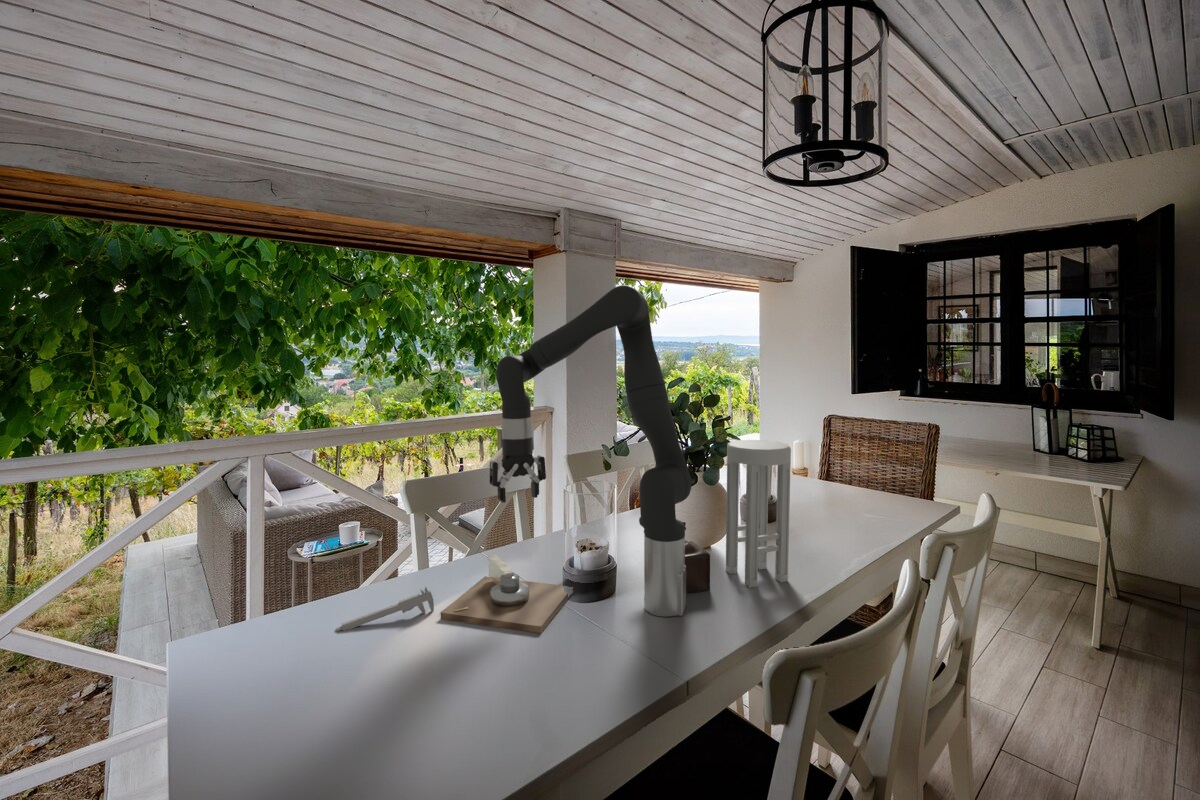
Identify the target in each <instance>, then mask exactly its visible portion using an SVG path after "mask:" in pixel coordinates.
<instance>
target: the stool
mask: <svg viewBox="0 0 1200 800" xmlns="http://www.w3.org/2000/svg"><path fill="white" fill-rule="evenodd" d="M726 448H727V449H726V450H727V451H726V452H727V453H726V455H727V456H726V512H725V513H726V514H725V515H726V519H725V521H726V523H725V524H726V525H725V527H726V529H725V532H726V533H725V536H726V537H725V572H727V573H728V574H729V573H730V575H733V573H734V574H738V565H739V564H738V562H739V559H738V557H739V555H738V554H739V552H738V551H739V543H742V542H745V543H744V544H745V545H744V546H745V547H744V549H745V551H744V552H745V553H744V554H745V555H744V584H745V585H746V586H747V587H749V588H755V587H758V577H759V576H758V575H759V574H758V572H759V571H758V570H765V569H767V568H768V567H767V566H768V565H767V562H768V553H769V552H770V553H771V552H775V563H774V564H775V566H774V567H775V569H774V570H775V572H774V574H775V575H774V579H775V581H778V582H779V583H784V582H785V583H786V582H788V581H789V542H790V504H791V502H790V501H791V498H790V497H791V462H792V461H791V460H792V459H791V458H792V457H791V456H792V455H791V454H792V448H791V447H790V445H789V444H788V443H786V442H785V443H784V442H781V441H775V440H767V439H766V440H765V439H764V440H763V439H739V440H733V441H730V442H727V447H726ZM740 464H743V465H746V475H745V476H746V483H745V484H746V488H745V489H746V490H745V524H741V525H739V495H740V494H739V493H740V482H739V481H740V477H739V476H740ZM770 466H777V468H776V469H777V472H776V473H777V475H776V477H777V479H776V522H775V524H776V528H775V533H770V534H769V533H768V524H769V523H768V522H769V521H768V519H769V517H768V515H769V503H768V502H769V470H770V469H769V467H770ZM741 531H745V535H741V536H739V532H741ZM771 540H773V541H774V540H775V544H774V545H773V544H771V545H768V541H771Z"/></svg>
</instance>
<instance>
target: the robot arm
mask: <svg viewBox="0 0 1200 800" xmlns="http://www.w3.org/2000/svg"><path fill="white" fill-rule="evenodd" d="M614 327H616V328H617V331H618V335H619V336H620V340H621V344H622V349H623V353H624V355H623V356H624V366H623V367H624V368H623V369H624V370H623V374H624V376H623V377H624V382H623V383H624V389H625V395H626V398H627V402H628V407H629V411H630V413H631V416H632V418H633V420H634V421H635V423H636V424H637V426H638V427H639V429H640V431H642V434H644V435H645V437H646V439H647V440H648V442H649V444H650V446H651V449H652V452H653V453H652V454H653V457H654V461H655V467H652V468H650V469H648V470H646V471H645V472H644V473H643V474H642V476H641V477H640V482H639V510H640V513H639V514H640V517H641V522H642V525H643V527H644V528H643V527H642V528H643V534H644V535H643V537H644V538H643V539H644V541H643V543H644V555H643V556H644V558H643V559H644V562H643V564H644V565H643V566H644V567H643V568H644V570H643V571H644V573H643V575H644V576H643V579H644V580H643V581H644V583H643V584H644V587H643V589H644V590H643V591H644V593H643V594H644V597H643V603H644V604H643V607H644V610H645V611H646V612H647V613H649V614H651V615H653V616H658V617H675V616H684V615H683V614H684V611H685V609H686V605H687V594H686V565H685V540H686V530H685V527H686V525H684V523H683V522H682V520H679V519H678V518H677V516H676V514H677V513H676V505H677V504H679V503H682V502H684V501H685V500H686V499H687V498H688V497H689V496H690V494H691V491H692V479H691V475H690V471H689V468H688V466H687V462H686V460H685V457H684V453H683V450H682V448H681V445H680V442H679V438H678V434H677V430H676V426H675V422H674V419H673V414H672V411H671V410H672V409H671V406H670V401H669V395H668V391H667V387H666V382H665V378H664V376H663V372H662V368H661V365H660V361H659V357H658V355H657V351H656V349H655V346H654V341H653V333H652V326H651V319H650V310H649V304H648V301H647V299H646V297H645V296H644V295H643V294H642V293H641V292H640V291H639V290H637V289H636V288H635V287H633V286H630V285H627V284H623V285H621V284H620V285H618V286H615V287H613V288H611V290H609V291H608V292H606V294H604V295H603V296H601V297H600V298H599V299H598V300H597V301H595V302H594V303H593V304H592V305H591V306H589V307H588V308H586V309H585V310H584V311H583V312H581V313H580V314H579V315H577V316H576V317H574V318H573V319H571V320H570V321H568V322H566V323H565V324H564V325H562V326H560V327H558V328H556V329H555V330H554V331H553V330H552V332H551V331H550V333H547V334H546V335H545V336H542V337H540V338H539V339H537V340H536V341H534V342H533V343H532V344H531V345H530V347H529V348H527V349H526V350H525V351H523V352H521V353H519V354H517V355H506V356H504V357H502V358H501V359H500V361H499V362H498V363H497V366H496V381H497V386H498V391H499V394H500V398H501V412H502V413H501V415H502V416H501V417H502V421H501V422H502V423H501V449H502V450H501V453H502V455H501V456H502V459H501V461H500V460H499V461H498V460H497V461H495V460H490V461H489V484H490V485H491V486H492V487H497V499H498V500H499V501H500V503H502V504H503V503H504V504H505V503H506V501H507V500H506V499H507V496H506V495H507V493H506V487H505V486H506V485H507V483H508V482H509V481H510V480H511V478H512V477H513V478H517V477H520V476H522V477H524V476H527V477H529V478H530V481H531V482H530V484H531V486H530V487H531V488H530V489H531V491H530V492H531V494H530V495H531V497H532V498H533V499H535V498H538V496H539V495H540V482H541V481H543V480H546V478H547V471H546V459H545V457H544V456H542V455H539V454H538V455H537V456H534V455H533V453H534V449H533V433H534V432H533V423H532V416H531V415H532V411H531V410H532V409H531V399H530V396H529V395H528V394H526V390H525V383H527V382H528V381H530V380H532V379H533V378H535V377H537V376H538V375H539V374H541V373H542V372H543V371H545V370H546V369H547V368H549V367H552V366H554V365H555V364H557V363H559V362H561V361H563V360H565V359H566V358H568V357H569V356H571V355H572V354H574V353H575V352H577V350H579V349H580V348H581V347H582V346H584V344H585V343H587V342H588V341H589V340H591V339H592V338H593V337H595V336H597V335H598V334H600V333H602V332H604V331H607V330H609V329H612V328H614ZM534 464H535V465H536V466H537V467H536V468H537V475H536V473H535V471H534V470H533V469H532V467H533V465H534ZM501 467H502V468H503V471H502V472H501V474H500V477H499V479H498V476H499V475H498V474H499V470H500V469H501Z"/></svg>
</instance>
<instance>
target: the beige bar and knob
mask: <svg viewBox="0 0 1200 800" xmlns="http://www.w3.org/2000/svg"><path fill="white" fill-rule="evenodd" d="M487 558H488V559H487V560H488V561H487V563H488V566H487V567H488V571H487V572H488V577H491V579H492V580H493V581H494V582H495V583H496V584H497V585H495V586H494V587H492V588H491V590H490V594H491V602H492V603H494V604H496V605H499V606H515V605H519V604H522V603H524V602H526V601H527V600H528V599H529V597H530V594H529V586H528V585H527V584H525V583H522V582H519V580H520V575H519V574H518V573H514V571H513V570H512V568H510V567H509V566H508V565H507V564H506V563H505V562H504V561H503V560H502V559H501V558H500V557H499V556H498V555H497V554H491V555H488V557H487Z"/></svg>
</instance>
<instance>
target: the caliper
mask: <svg viewBox="0 0 1200 800" xmlns="http://www.w3.org/2000/svg"><path fill="white" fill-rule="evenodd" d="M419 591H420V593H417V594H414V595H411V596H409V597H407V598H403V599H401V600H399V602H397V603H395V604H392V605H389V606H387V607H384V608H382V609H377V610H375V611H372V612H370V613H367V614H364V615H360V616H359V617H356V618H353V619H350V620H348V621H344V622H343V623H341V626H338V627H336V628H335V632H339V631H346V630H352V629H355V628H357V627H360V626H362V625H365V624H368V623H370V622H373V621H376V620H378V619H381V618H384V617H386V616H389V615H390V616H391V615H392V614H395V613H397V612H402V613H403V614H405V613H406V612H410V611H411V610H413V609H414V608H415V607H417V608H419V609H418V610H420V612H421V613H422V614H423V615H426V614H427V613H426V609H425V605H424V603H425V602H427V603H428V606H429V609H430V613H433V612H435V611H434V610H435V608H434V605H435V603H434V597H433V594H432V592H431V590H430V589H429V590H428V588H427V586H425V587H424V590H423V589H422V588H420V590H419Z"/></svg>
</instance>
